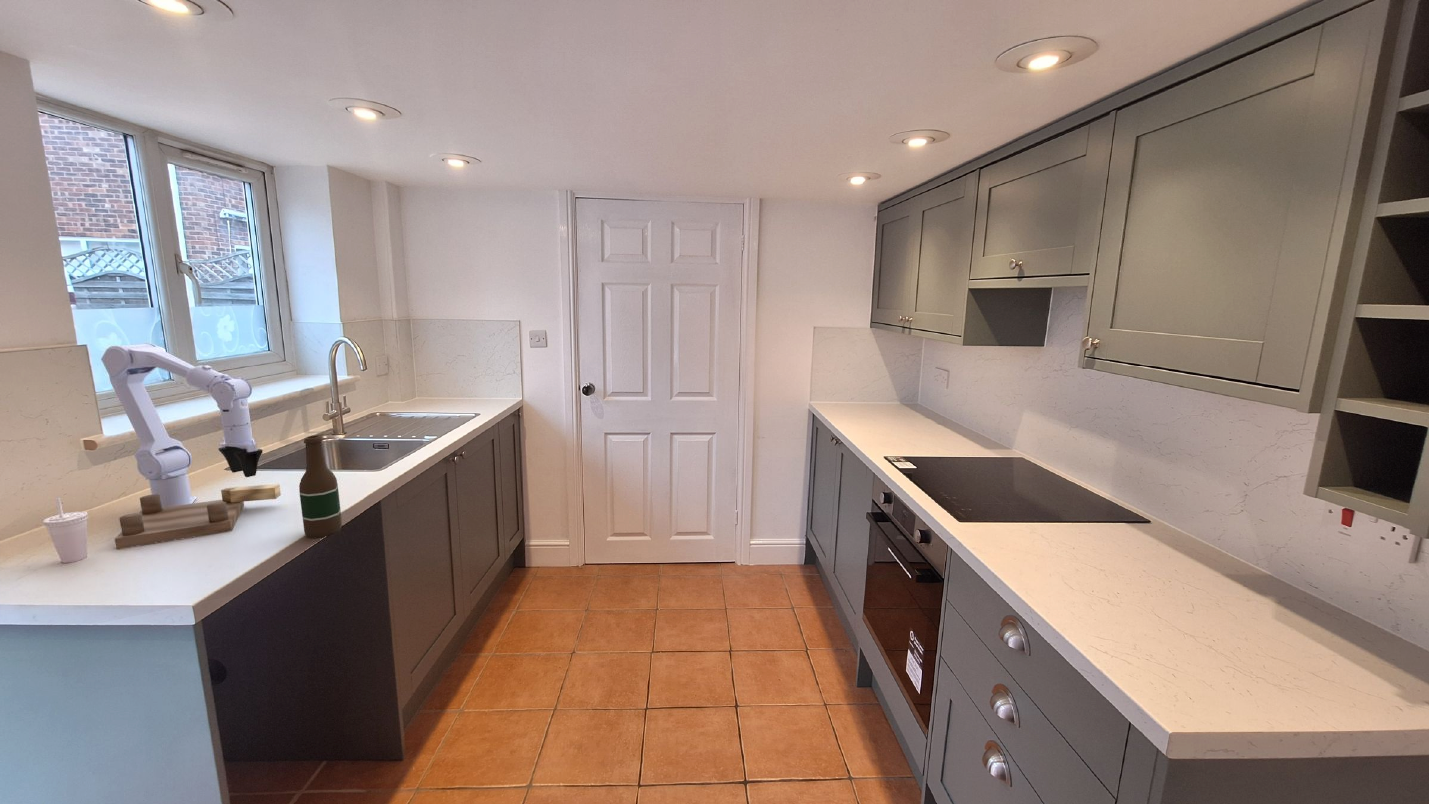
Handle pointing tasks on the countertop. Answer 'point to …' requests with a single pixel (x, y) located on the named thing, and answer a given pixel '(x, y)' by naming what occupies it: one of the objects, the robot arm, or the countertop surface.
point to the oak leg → (251, 493)
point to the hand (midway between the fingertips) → (243, 473)
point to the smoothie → (68, 534)
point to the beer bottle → (319, 493)
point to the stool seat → (175, 521)
